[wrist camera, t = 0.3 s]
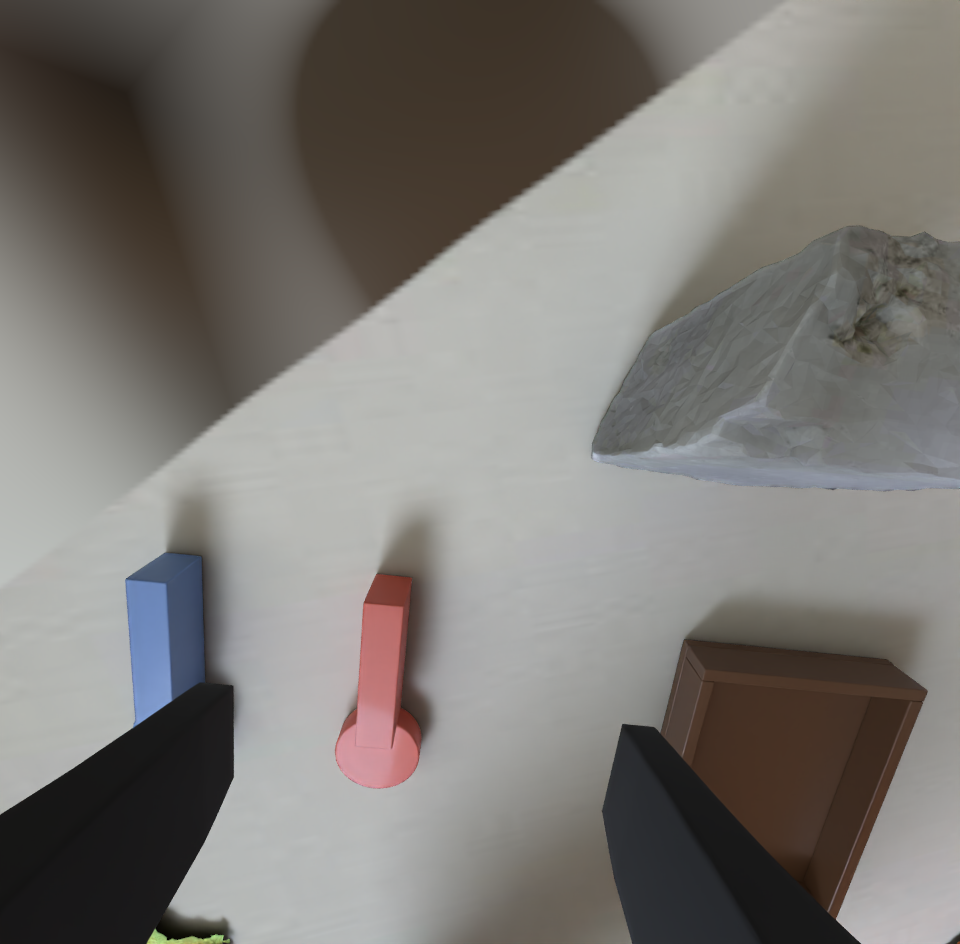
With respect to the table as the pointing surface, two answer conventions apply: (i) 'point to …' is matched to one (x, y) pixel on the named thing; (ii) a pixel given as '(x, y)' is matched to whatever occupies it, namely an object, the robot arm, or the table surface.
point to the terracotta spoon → (381, 693)
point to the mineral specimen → (807, 374)
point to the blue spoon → (165, 630)
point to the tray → (795, 748)
